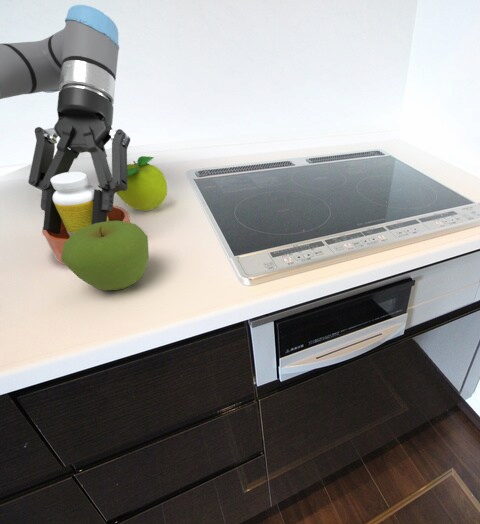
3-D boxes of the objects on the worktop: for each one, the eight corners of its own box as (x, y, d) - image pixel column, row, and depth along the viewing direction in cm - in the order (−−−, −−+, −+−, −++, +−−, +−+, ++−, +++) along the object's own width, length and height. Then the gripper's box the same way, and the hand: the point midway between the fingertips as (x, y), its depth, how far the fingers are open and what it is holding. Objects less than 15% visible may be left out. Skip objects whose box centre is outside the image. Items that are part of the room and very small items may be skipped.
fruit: (180, 200, 79) (169, 155, 73) (155, 220, 72) (141, 172, 66) (141, 195, 80) (127, 150, 74) (112, 215, 73) (94, 166, 67)
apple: (140, 254, 62) (121, 201, 56) (172, 280, 57) (155, 225, 51) (68, 283, 55) (39, 226, 49) (97, 316, 50) (68, 257, 44)
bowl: (38, 254, 61) (24, 228, 58) (105, 223, 70) (96, 199, 67) (88, 275, 57) (75, 248, 54) (152, 239, 66) (144, 214, 63)
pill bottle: (116, 241, 62) (93, 180, 56) (73, 251, 59) (43, 188, 52) (111, 225, 66) (89, 167, 60) (71, 233, 63) (43, 173, 57)
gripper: (156, 113, 66) (149, 236, 62) (41, 109, 64) (27, 237, 60) (136, 87, 59) (127, 225, 55) (6, 82, 56) (-12, 225, 53)
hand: (75, 231), depth 58 cm, fingers closed on pill bottle, 6 cm apart
